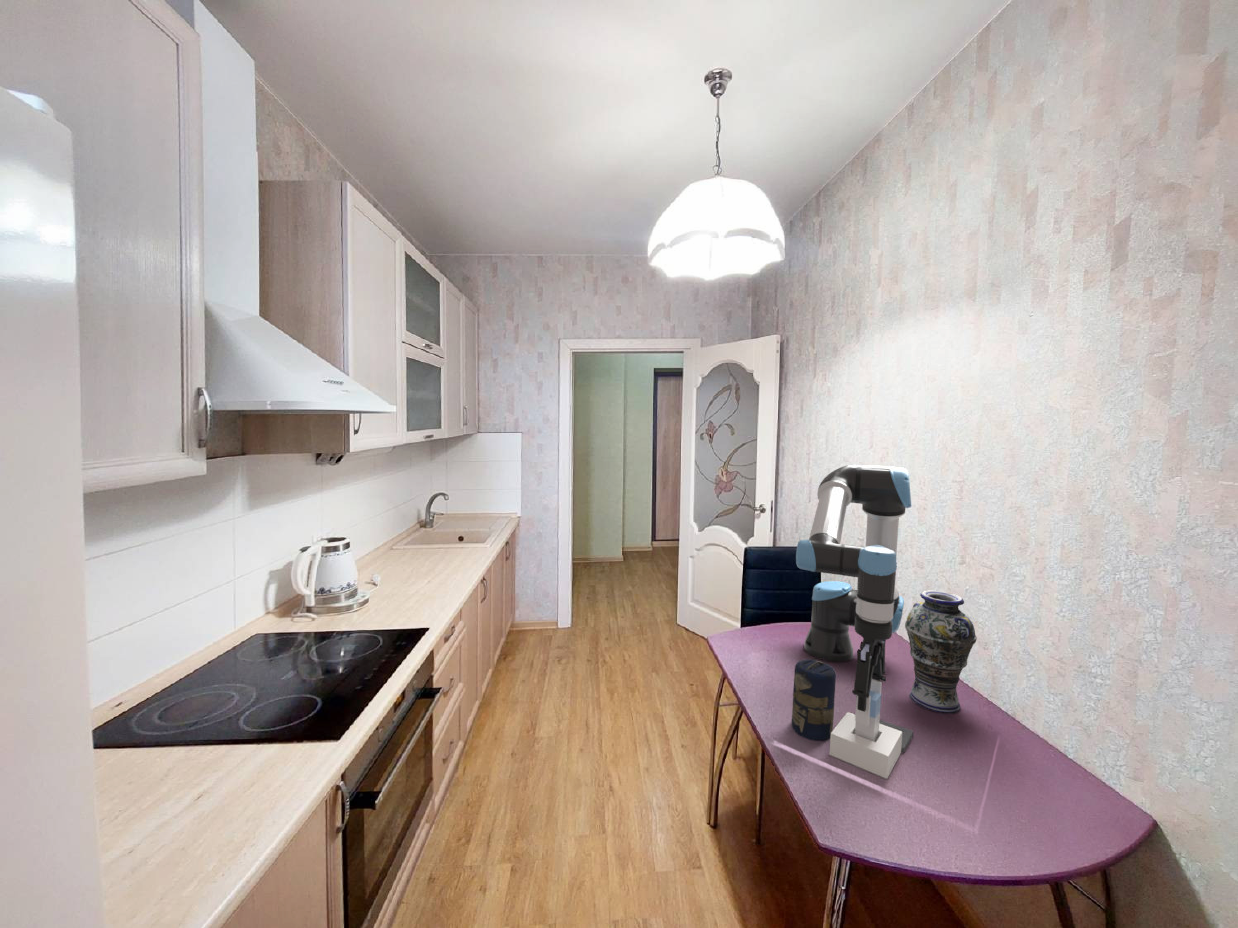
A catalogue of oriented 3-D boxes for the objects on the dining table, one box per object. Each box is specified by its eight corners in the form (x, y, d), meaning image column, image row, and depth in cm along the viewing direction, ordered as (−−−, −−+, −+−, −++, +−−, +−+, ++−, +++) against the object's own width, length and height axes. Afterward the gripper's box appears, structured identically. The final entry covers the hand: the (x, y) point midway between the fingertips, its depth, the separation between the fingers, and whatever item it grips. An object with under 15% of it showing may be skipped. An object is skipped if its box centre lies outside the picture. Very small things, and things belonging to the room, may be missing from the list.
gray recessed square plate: (873, 724, 133) (873, 716, 133) (912, 738, 127) (913, 731, 127) (862, 740, 126) (862, 732, 126) (903, 756, 120) (904, 748, 120)
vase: (943, 724, 134) (951, 610, 131) (885, 691, 149) (892, 589, 147) (986, 712, 140) (995, 602, 137) (927, 682, 156) (934, 583, 153)
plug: (859, 745, 122) (862, 687, 121) (877, 752, 120) (881, 694, 119) (853, 753, 119) (857, 694, 118) (872, 761, 117) (876, 701, 116)
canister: (783, 725, 132) (786, 656, 130) (814, 718, 135) (817, 651, 134) (808, 747, 123) (812, 673, 121) (841, 740, 126) (845, 668, 125)
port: (846, 735, 128) (847, 711, 128) (900, 756, 120) (902, 731, 120) (829, 758, 119) (830, 733, 119) (886, 782, 111) (888, 756, 111)
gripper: (869, 601, 127) (864, 691, 129) (840, 625, 112) (835, 727, 113) (903, 609, 122) (897, 702, 124) (878, 635, 107) (872, 742, 109)
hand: (867, 714), depth 119 cm, fingers open, 8 cm apart
